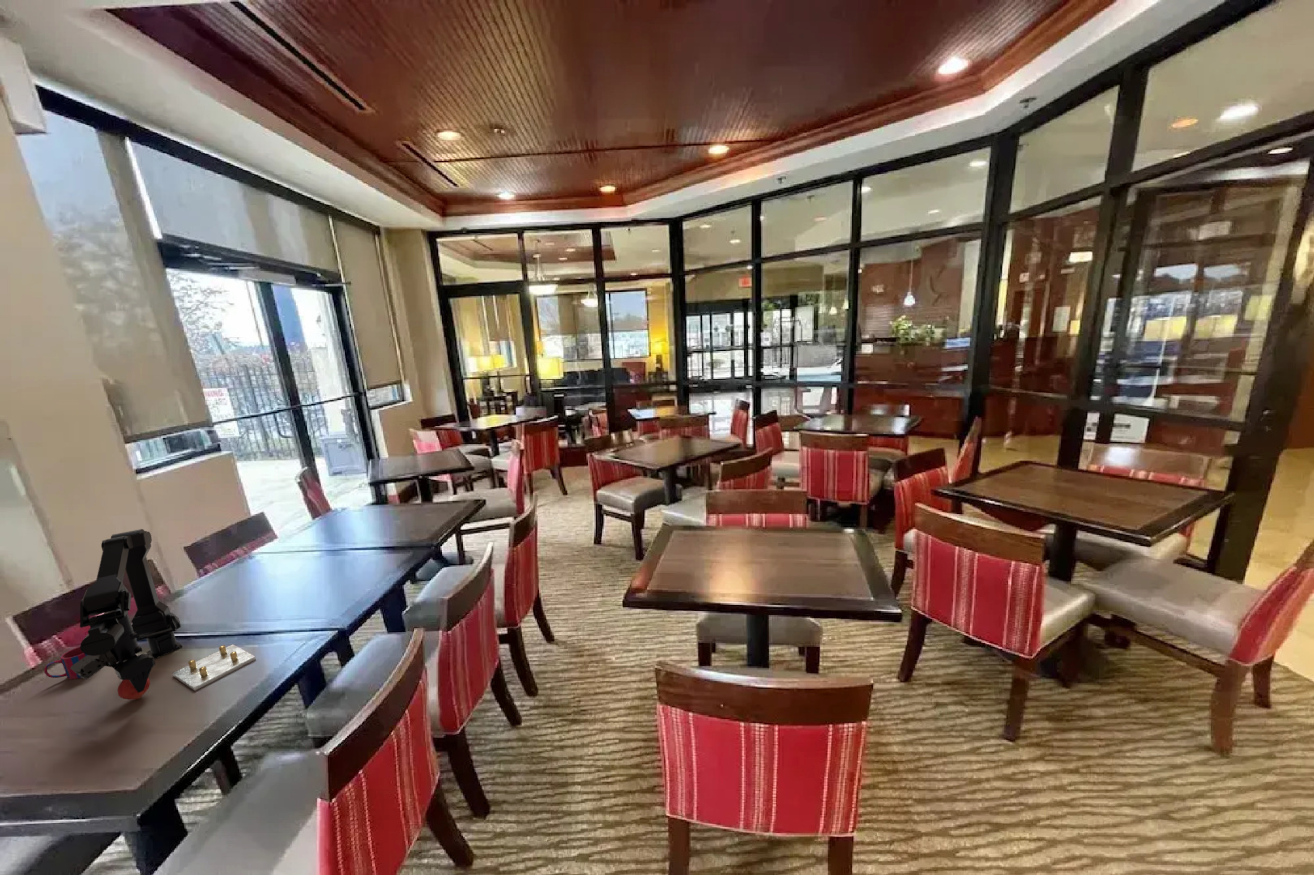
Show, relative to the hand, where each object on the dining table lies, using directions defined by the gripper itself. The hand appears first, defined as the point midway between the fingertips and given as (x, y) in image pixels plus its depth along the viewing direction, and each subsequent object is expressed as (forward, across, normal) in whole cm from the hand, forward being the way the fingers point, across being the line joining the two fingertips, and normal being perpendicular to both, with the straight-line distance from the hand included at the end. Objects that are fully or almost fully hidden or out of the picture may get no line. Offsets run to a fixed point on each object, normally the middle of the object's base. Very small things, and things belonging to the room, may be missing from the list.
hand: (134, 686), depth 127 cm
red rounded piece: (+4, 0, 0) cm, 4 cm away
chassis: (+4, +4, +15) cm, 16 cm away
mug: (+4, -32, -4) cm, 32 cm away
